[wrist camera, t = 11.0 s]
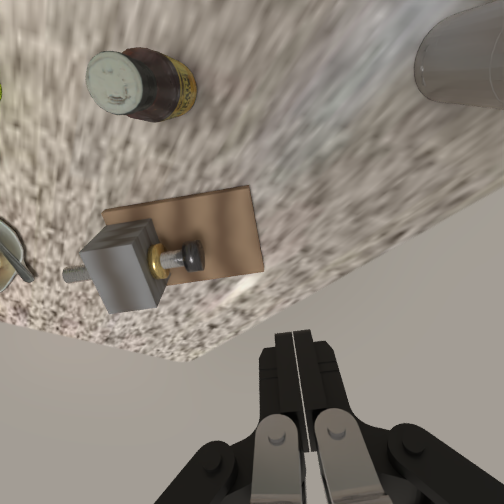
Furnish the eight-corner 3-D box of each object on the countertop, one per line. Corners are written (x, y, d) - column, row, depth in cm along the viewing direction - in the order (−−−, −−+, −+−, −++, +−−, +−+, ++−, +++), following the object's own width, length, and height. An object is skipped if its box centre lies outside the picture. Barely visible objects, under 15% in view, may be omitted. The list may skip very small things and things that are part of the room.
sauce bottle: (185, 124, 42) (135, 156, 24) (141, 96, 40) (54, 108, 23) (209, 76, 39) (172, 73, 22) (162, 45, 38) (83, 13, 20)
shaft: (199, 231, 45) (193, 247, 41) (207, 261, 48) (202, 279, 43) (69, 252, 47) (50, 269, 43) (83, 279, 50) (66, 299, 45)
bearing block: (249, 185, 46) (247, 209, 37) (263, 266, 52) (265, 304, 43) (105, 209, 48) (71, 238, 39) (137, 285, 54) (114, 324, 45)
